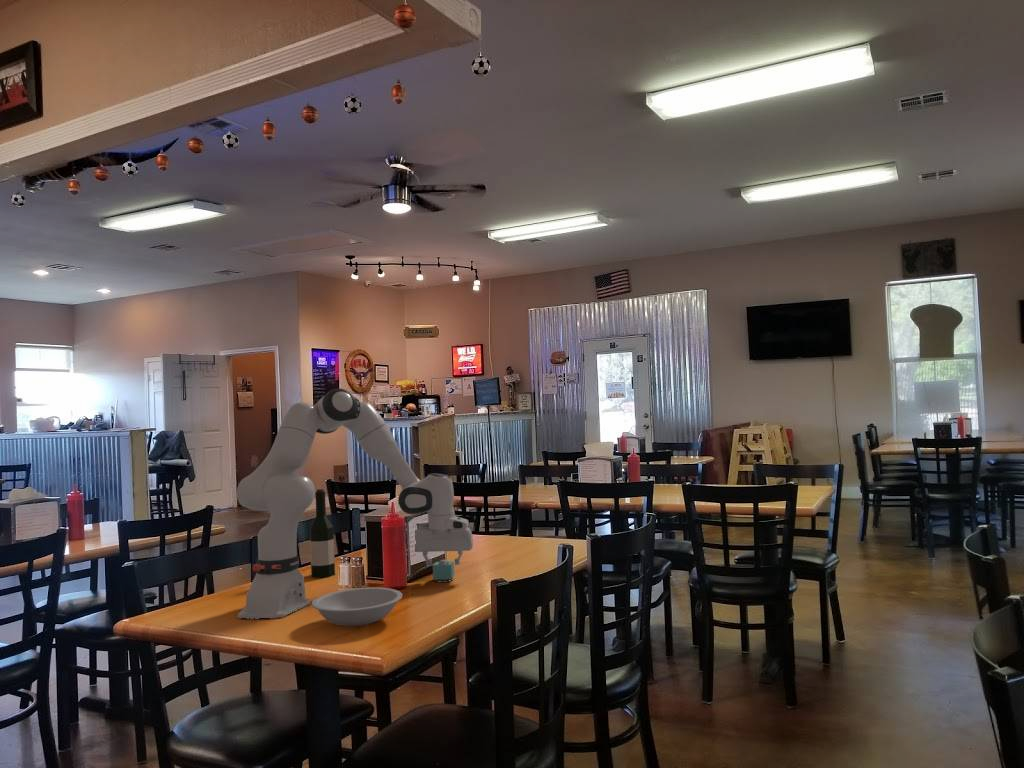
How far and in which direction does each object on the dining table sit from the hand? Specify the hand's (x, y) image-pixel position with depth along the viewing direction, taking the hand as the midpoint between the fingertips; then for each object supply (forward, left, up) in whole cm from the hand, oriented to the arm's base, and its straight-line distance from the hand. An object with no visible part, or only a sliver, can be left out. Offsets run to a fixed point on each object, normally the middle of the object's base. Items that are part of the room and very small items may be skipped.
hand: (443, 564), depth 248 cm
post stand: (0, 0, -5) cm, 5 cm away
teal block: (0, 0, -4) cm, 4 cm away
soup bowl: (-47, +15, -5) cm, 50 cm away
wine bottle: (+12, +45, -5) cm, 47 cm away
